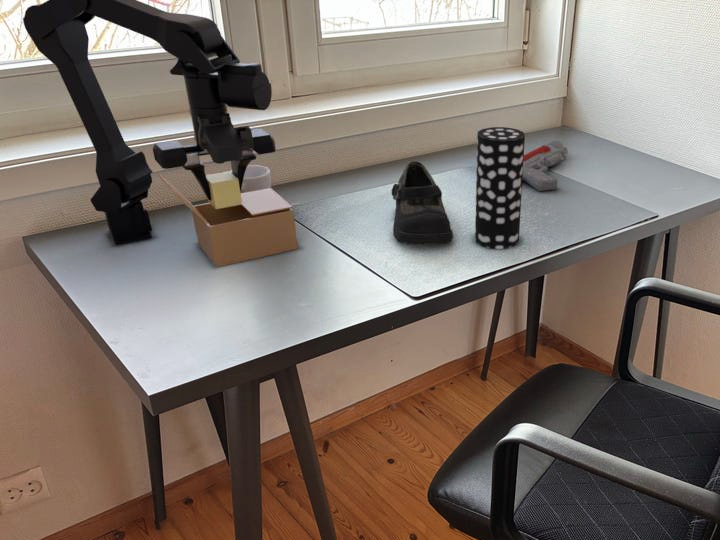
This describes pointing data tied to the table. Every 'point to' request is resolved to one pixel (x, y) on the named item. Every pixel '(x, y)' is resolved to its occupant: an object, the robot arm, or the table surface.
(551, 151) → the toy gun
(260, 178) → the cup
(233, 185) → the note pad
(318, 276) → the table surface
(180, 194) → the flap
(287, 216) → the carton
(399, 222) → the shoe
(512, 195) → the spotted tube
